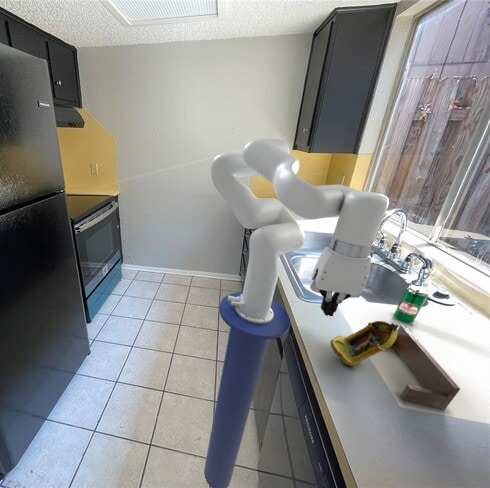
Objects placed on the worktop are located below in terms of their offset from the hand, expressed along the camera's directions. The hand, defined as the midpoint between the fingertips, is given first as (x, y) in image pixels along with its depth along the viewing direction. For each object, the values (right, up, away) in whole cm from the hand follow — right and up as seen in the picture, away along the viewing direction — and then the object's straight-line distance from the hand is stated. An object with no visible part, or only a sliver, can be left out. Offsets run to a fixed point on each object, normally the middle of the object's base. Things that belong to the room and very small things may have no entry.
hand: (326, 312), depth 65 cm
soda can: (+38, -8, +20) cm, 44 cm away
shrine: (+9, -14, +4) cm, 17 cm away
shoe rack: (+19, -15, +2) cm, 24 cm away
